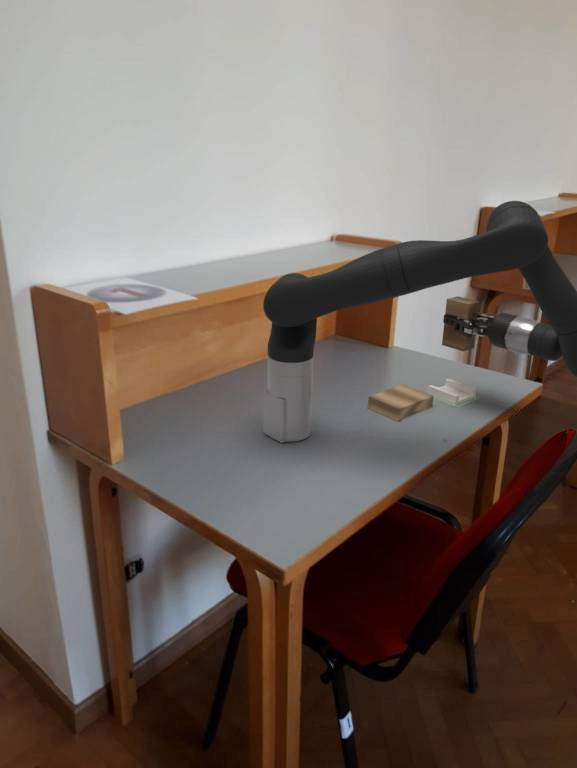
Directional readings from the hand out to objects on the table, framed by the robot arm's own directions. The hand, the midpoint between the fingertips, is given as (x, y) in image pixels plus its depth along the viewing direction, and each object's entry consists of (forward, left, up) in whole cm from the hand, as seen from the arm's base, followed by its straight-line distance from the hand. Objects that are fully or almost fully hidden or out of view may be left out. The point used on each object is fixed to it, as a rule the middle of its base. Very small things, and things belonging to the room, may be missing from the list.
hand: (450, 316), depth 148 cm
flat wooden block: (-15, +1, -19) cm, 24 cm away
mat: (0, -3, -19) cm, 20 cm away
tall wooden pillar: (0, -3, -6) cm, 7 cm away
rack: (0, -3, -19) cm, 19 cm away
